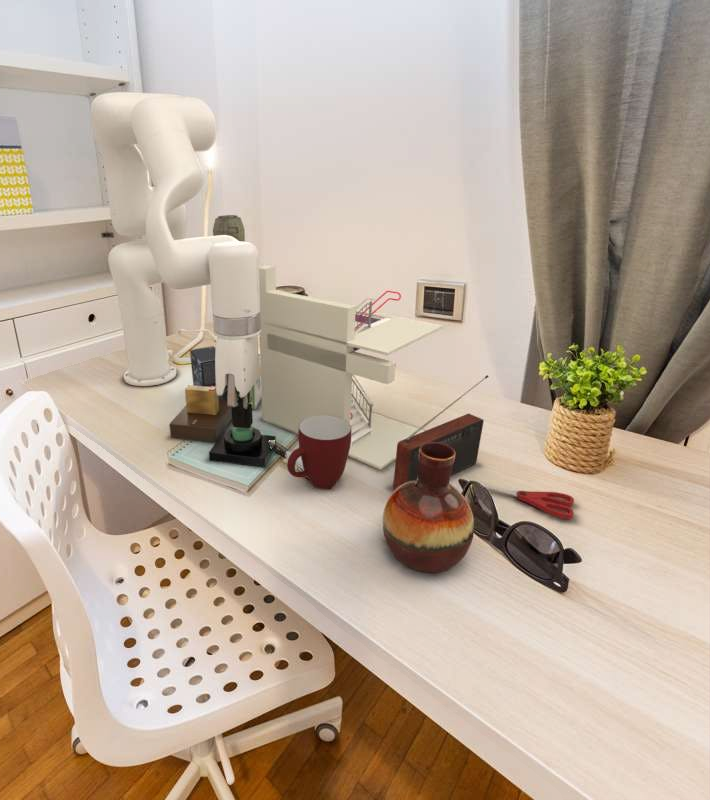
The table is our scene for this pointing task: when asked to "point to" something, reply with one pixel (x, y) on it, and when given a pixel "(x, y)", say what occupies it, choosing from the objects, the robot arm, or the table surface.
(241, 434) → the release button
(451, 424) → the radio
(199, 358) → the box
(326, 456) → the mug
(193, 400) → the thumb turn
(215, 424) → the plate
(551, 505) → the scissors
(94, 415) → the table surface
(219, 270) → the robot arm
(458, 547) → the vase
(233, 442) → the button block
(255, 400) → the ink box
